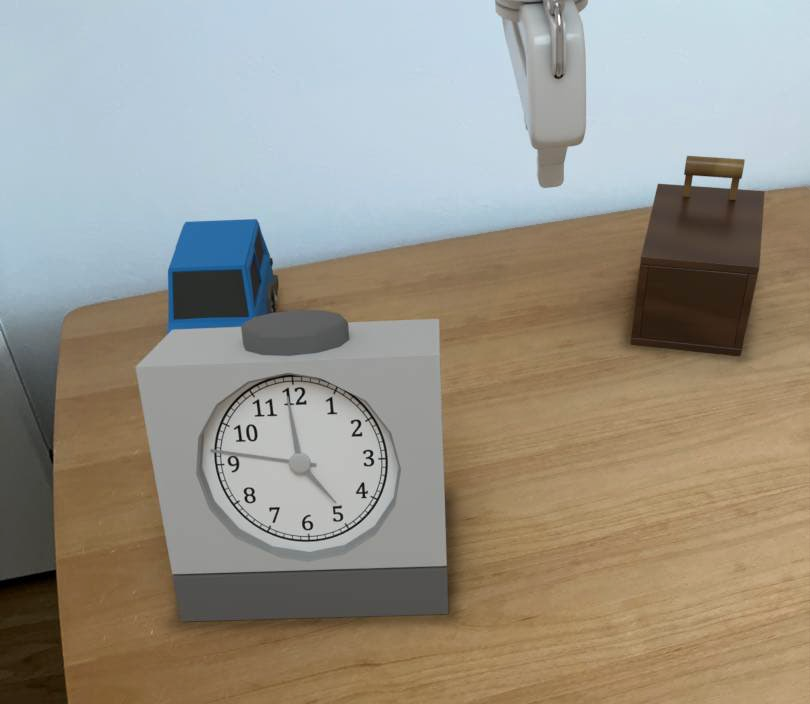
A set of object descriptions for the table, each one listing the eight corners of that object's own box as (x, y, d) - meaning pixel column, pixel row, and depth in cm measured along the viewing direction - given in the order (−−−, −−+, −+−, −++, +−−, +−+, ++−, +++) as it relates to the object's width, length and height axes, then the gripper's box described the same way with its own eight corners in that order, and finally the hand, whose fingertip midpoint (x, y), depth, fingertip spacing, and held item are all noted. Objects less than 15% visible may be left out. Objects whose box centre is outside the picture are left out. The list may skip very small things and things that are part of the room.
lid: (656, 190, 105) (662, 144, 101) (763, 198, 102) (772, 151, 99) (640, 264, 94) (645, 216, 91) (757, 274, 92) (768, 225, 89)
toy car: (162, 407, 97) (138, 317, 90) (197, 302, 111) (178, 217, 104) (258, 405, 97) (241, 314, 90) (281, 299, 110) (267, 213, 103)
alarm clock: (180, 621, 77) (113, 408, 63) (211, 485, 88) (159, 278, 74) (448, 614, 76) (440, 395, 62) (444, 477, 88) (437, 266, 73)
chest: (646, 271, 110) (656, 194, 104) (746, 280, 108) (762, 202, 102) (630, 344, 100) (639, 264, 94) (740, 356, 98) (757, 275, 92)
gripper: (613, -2, 59) (605, 215, 69) (568, -94, 74) (567, 96, 84) (506, 11, 60) (513, 225, 70) (482, -83, 74) (491, 105, 84)
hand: (542, 154), depth 77 cm, fingers open, 8 cm apart
